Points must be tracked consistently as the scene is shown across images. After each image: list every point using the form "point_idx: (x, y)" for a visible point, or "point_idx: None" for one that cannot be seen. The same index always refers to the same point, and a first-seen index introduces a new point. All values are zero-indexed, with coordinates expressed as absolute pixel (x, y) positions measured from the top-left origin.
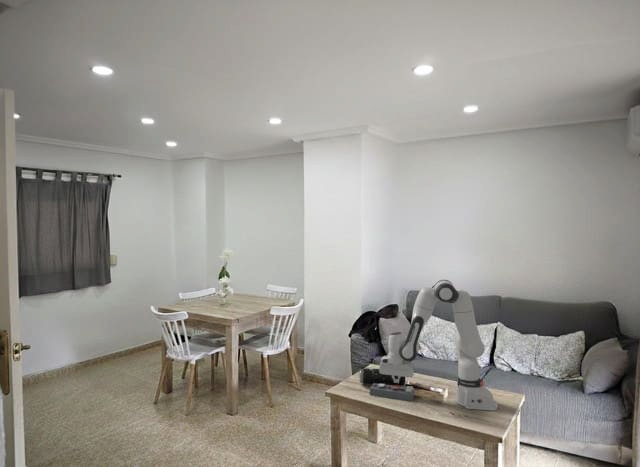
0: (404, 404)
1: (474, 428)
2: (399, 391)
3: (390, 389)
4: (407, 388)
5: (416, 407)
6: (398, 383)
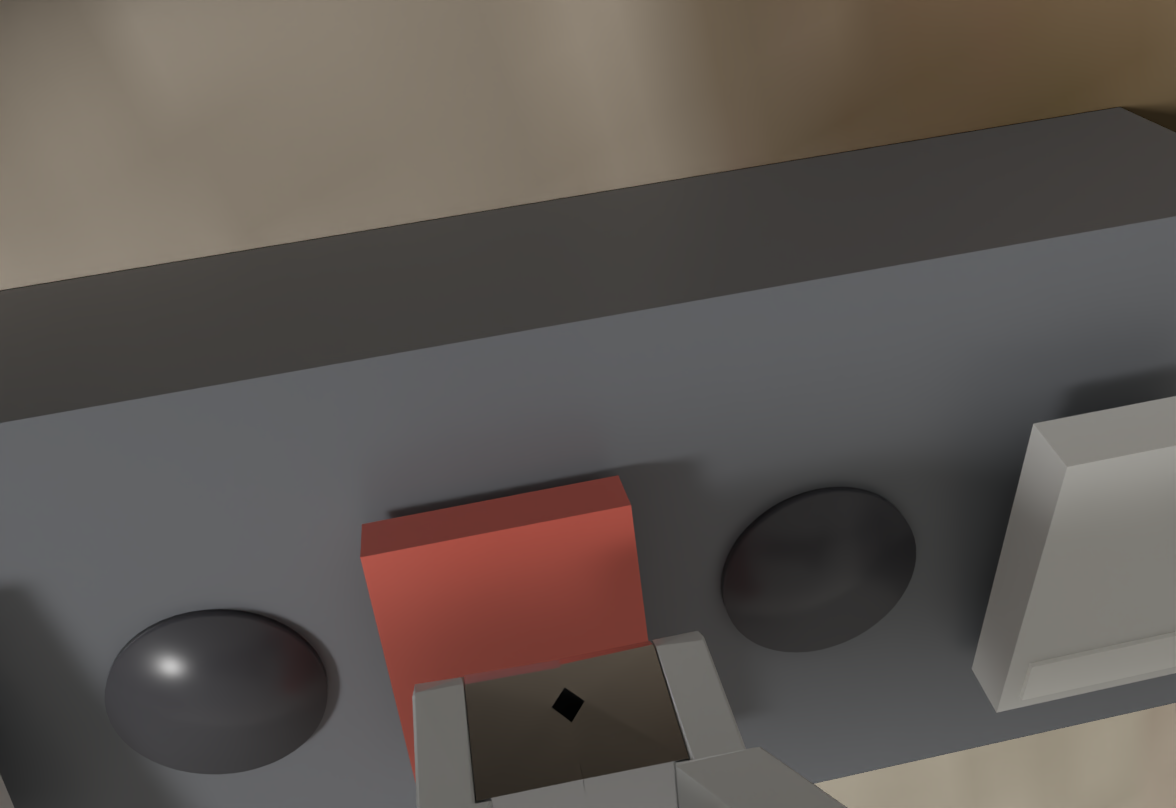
0: (879, 782)
1: None
2: (739, 730)
3: (366, 762)
4: (1065, 604)
5: (1154, 761)
6: None
